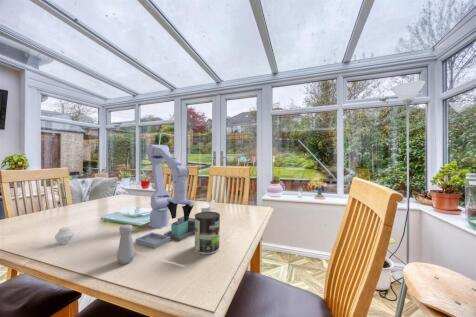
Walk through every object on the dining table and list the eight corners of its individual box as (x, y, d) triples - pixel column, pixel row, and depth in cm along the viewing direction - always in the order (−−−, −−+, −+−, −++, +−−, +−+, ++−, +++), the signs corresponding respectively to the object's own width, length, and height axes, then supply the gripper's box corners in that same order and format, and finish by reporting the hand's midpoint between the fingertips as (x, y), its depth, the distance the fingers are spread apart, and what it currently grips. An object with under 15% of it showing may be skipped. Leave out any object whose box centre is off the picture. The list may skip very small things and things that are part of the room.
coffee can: (224, 247, 88) (225, 213, 87) (208, 257, 79) (209, 220, 79) (205, 241, 93) (206, 210, 93) (189, 250, 84) (189, 215, 84)
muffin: (58, 241, 91) (58, 225, 91) (75, 239, 93) (75, 223, 93) (52, 247, 85) (52, 230, 85) (70, 245, 88) (70, 228, 87)
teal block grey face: (171, 236, 96) (171, 223, 96) (181, 231, 103) (181, 219, 103) (177, 238, 95) (178, 224, 95) (187, 233, 101) (188, 220, 101)
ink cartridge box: (206, 225, 114) (206, 198, 114) (215, 225, 113) (215, 198, 113) (200, 230, 106) (201, 201, 106) (210, 231, 105) (210, 202, 105)
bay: (161, 237, 97) (161, 224, 96) (183, 227, 110) (183, 216, 110) (182, 242, 91) (182, 229, 91) (201, 231, 104) (201, 219, 104)
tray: (135, 243, 90) (135, 238, 90) (152, 236, 97) (152, 232, 97) (155, 249, 85) (155, 244, 85) (170, 241, 92) (170, 236, 92)
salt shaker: (121, 257, 78) (121, 223, 77) (137, 257, 78) (137, 222, 78) (113, 266, 72) (113, 228, 71) (130, 265, 72) (130, 228, 72)
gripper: (162, 190, 98) (162, 219, 98) (186, 193, 92) (186, 224, 92) (173, 188, 104) (172, 215, 104) (196, 191, 98) (196, 219, 98)
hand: (179, 219), depth 99 cm, fingers open, 7 cm apart
